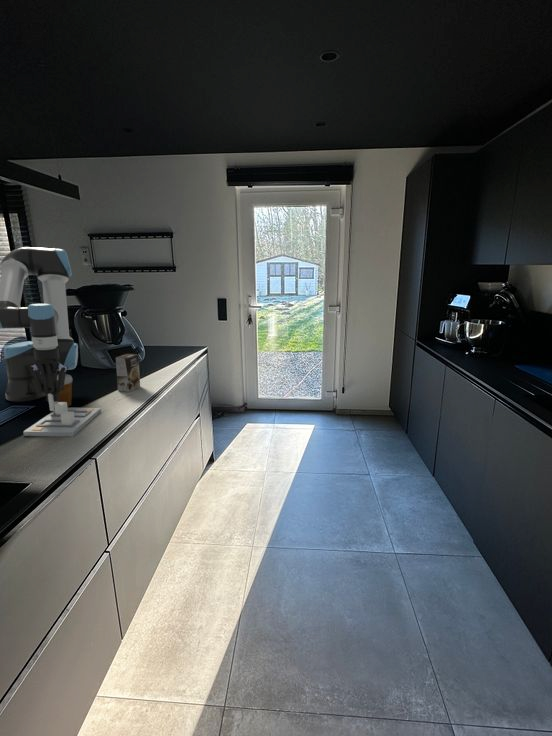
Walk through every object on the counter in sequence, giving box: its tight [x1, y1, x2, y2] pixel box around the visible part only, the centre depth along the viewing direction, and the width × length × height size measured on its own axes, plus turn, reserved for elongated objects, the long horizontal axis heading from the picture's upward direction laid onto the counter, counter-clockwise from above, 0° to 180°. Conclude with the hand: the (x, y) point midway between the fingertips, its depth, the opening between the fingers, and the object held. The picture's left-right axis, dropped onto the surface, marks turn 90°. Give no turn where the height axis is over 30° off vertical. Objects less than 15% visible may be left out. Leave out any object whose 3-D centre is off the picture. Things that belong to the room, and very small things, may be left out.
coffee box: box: [115, 353, 141, 393], centre depth 167 cm, size 9×6×16 cm
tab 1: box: [54, 402, 69, 415], centre depth 133 cm, size 3×3×4 cm
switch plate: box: [22, 407, 102, 438], centre depth 130 cm, size 16×22×2 cm
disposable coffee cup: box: [51, 374, 73, 408], centre depth 144 cm, size 10×10×12 cm
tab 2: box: [61, 411, 75, 425], centre depth 125 cm, size 3×3×4 cm
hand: (54, 409), depth 133 cm, fingers closed
